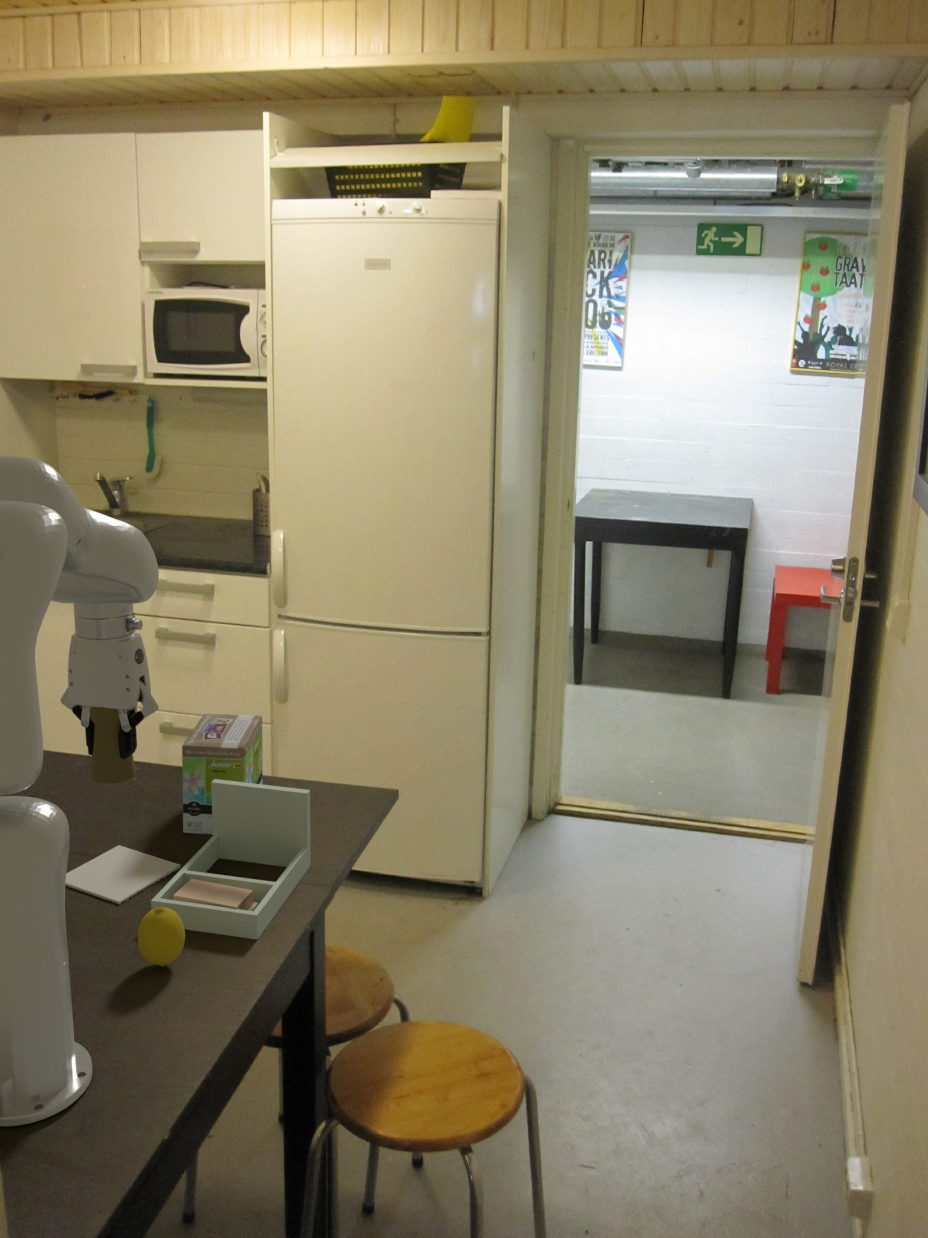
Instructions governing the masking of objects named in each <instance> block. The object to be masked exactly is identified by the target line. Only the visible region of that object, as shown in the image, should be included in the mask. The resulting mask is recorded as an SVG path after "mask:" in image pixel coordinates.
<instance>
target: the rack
mask: <svg viewBox="0 0 928 1238" xmlns="http://www.w3.org/2000/svg"><path fill="white" fill-rule="evenodd" d="M211 793H212V823H213V834H212V836H211V837H210V838H209V839H208V840H207V842H205V844H204V845H202V847H201V848H199V850H198V851H197V852H196V853H195V854H194V855H193V856H192V857H191V858H190V860H188V861H187V862H186V863H185V864H184V866H183V867H181V868H180V869H179V871H177V873H176V874H175V875H174V876H173V877H172V878H171V879H170V880H169V881H168V882H167V883H166V884H165V885H164V887H163V888H162V889H160V891H159V892H158V893H156V895H155V896H154V897H152V899H151V900H150V906H151V910H153V909H155V908H158V907H166V908H170V909H172V910H174V911H175V912H176V913H177V914H178V915H179V916H180V918H181V920H182V923H183V925H184V930H187V931H188V930H189V931H193V932H195V931H196V932H201V933H209V934H215V935H222V936H231V937H237V938H242V939H243V938H244V939H250V940H259V938H260V937H261V936H262V934H263V933H264V932H265V930H266V929H267V928H268V926H269V925H270V923H271V922H272V920H273V919H274V918H275V917H276V915H277V914H278V912H279V910H280V909H281V908H282V907H283V905H284V903H285V902H286V901H287V900H288V898H289V897H290V895H291V894H292V892H293V891H294V890H295V888H296V887H297V885H299V883H300V882H301V880H302V878H304V876H305V875H306V873H307V872H308V871H309V870H310V867H311V865H312V864H311V863H312V862H311V790H310V789H305V788H295V787H288V786H287V787H286V786H279V785H277V786H276V785H271V784H270V785H269V784H263V783H262V784H253V783H245V782H236V781H227V780H219V779H214V780H213V781H212V782H211ZM219 859H220V860H221V859H222V860H229V861H230V860H231V861H238V862H245V863H254V864H260V865H261V864H262V865H267V866H268V865H269V866H276V867H285V869H284V870H283V872H282V873H281V874H280V876H279V877H278V879H277V880H276V881H271V880H263V879H255V878H248V877H239V876H232V875H224V874H217V873H211V872H210V873H209V872H208V871H209V870H210V869H211V867H213V866H214V864H215V863H216V861H218V860H219ZM191 879H195V880H201V881H206V882H211V883H217V884H222V885H228V886H233V887H238V888H244V889H249V890H253V902H257V903H258V906H257V908H256V909H255V910H254V911H247V910H240V909H233V908H226V907H219V906H211V905H204V904H197V903H190V902H183V901H175V900H173V895H174V894H175V893H176V892H177V891H178V890H179V889H181V888H182V887H183V886H184V885H185V884H186V883H187V882H188V881H190V880H191ZM151 910H150V911H151Z"/></svg>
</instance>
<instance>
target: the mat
mask: <svg viewBox="0 0 928 1238" xmlns="http://www.w3.org/2000/svg"><path fill="white" fill-rule="evenodd" d="M181 865H182V864H179V863H176V862H173V861H169V860H166V859H163V858H159V857H157V856H154V855H151V854H148V853H144V852H142V851H139V850H136V849H133V848H128V847H126V846H122V845H119V844H118V845H117V846H115V847H113V848H111V849H108V850H107V851H106V852H103V853H102V854H100V855H98V856H96V857H94V858H93V859H91V860H89V861H87V862H85V863H83V864H81V865H79V866H78V867H76V868H74V869H72V870H71V871H69V872H66V882H65V887H66V886H67V887H69V888H72V889H75V890H77V891H80V892H82V893H83V892H84V893H86V894H89V895H92V896H95V897H98V898H100V899H103V900H106V901H108V900H109V902H111V901H112V902H111V903H114V902H115V903H114V904H117V905H121V904H123V903H125V902H126V901H128V900H130V899H131V898H133V897H134V895H135V896H136V895H137V893H138V892H139V893H141V892H143V891H145V890H146V889H148V888H149V887H151V886H152V884H153V885H155V884H156V883H157V881H158V882H160V879H161V880H162V878H163V879H164V878H166V877H167V875H168V876H169V875H171V874H173V873H174V872H176V871H178V870H180V869H182V866H181ZM172 872H173V873H172ZM155 882H156V883H155ZM150 885H151V886H150ZM148 886H149V887H148ZM147 887H148V888H147ZM145 888H146V889H145ZM142 890H143V891H142ZM140 891H141V892H140ZM139 893H138V894H139ZM130 897H131V898H130ZM129 898H130V899H129ZM124 901H125V902H124ZM122 902H123V903H122Z"/></svg>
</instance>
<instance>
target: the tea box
mask: <svg viewBox="0 0 928 1238" xmlns="http://www.w3.org/2000/svg"><path fill="white" fill-rule="evenodd" d="M181 757H182V758H181V760H182V762H181V764H182V765H181V767H182V827H183V828H182V832H183V834H196V835H213V823H212V793H211V782H212V781H213V780H214V779H219V780H227V781H236V782H245V783H253V784H262V785H263V716H262V715H257V714H256V715H253V714H252V715H251V714H249V715H248V714H225V713H224V714H223V713H222V714H221V713H203V715H202V716H201V718H200V719H199V720H198V722H197V724H195V726H194V728H193V729H192V731H191V732H190V734H188V736H187V738H186V739H185V741H184V742H183V744H182V746H181Z"/></svg>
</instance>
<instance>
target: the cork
mask: <svg viewBox="0 0 928 1238" xmlns="http://www.w3.org/2000/svg"><path fill="white" fill-rule="evenodd" d="M90 717H91V720H92V722H93V723H94V724H95V727H94V742H93V754H92V755H91V764H90V767H91V768H90V779H91V780H92V781H93V782H97V783H100V784H117V783H123V782H126V781H129V780H131V779H133V778H134V777H135V776H136V774H137V770H136V765H135V764H136V763H135V759H134V755H133V754H134V753H133V754H132V755H130V756H129V757H128V758H126V759H121V757H120V752H119V735H118V734H119V732H120V731H121V730H122V726H121V722H120V718H119V713H118V710H114V709H110V708H104V707H91V708H90Z"/></svg>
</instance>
